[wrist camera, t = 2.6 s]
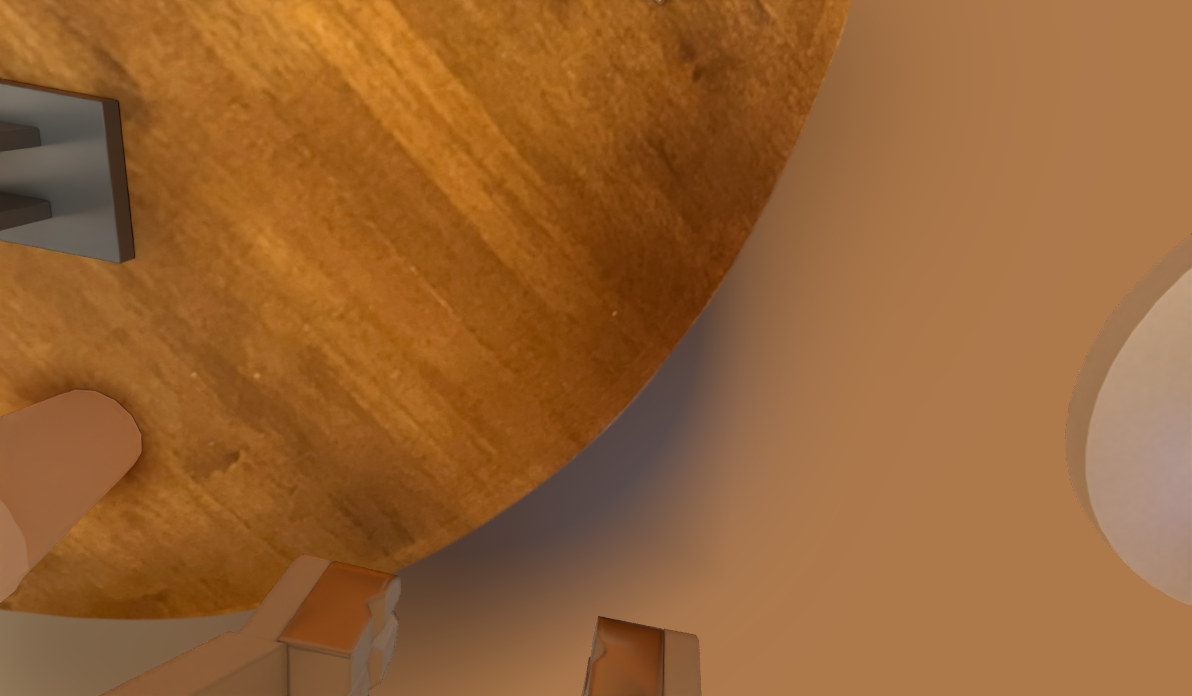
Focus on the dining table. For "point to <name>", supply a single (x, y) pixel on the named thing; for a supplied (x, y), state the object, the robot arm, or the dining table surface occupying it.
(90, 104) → the grey lever stand
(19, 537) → the foam cup
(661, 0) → the button box
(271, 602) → the robot arm
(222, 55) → the dining table surface
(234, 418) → the dining table surface
